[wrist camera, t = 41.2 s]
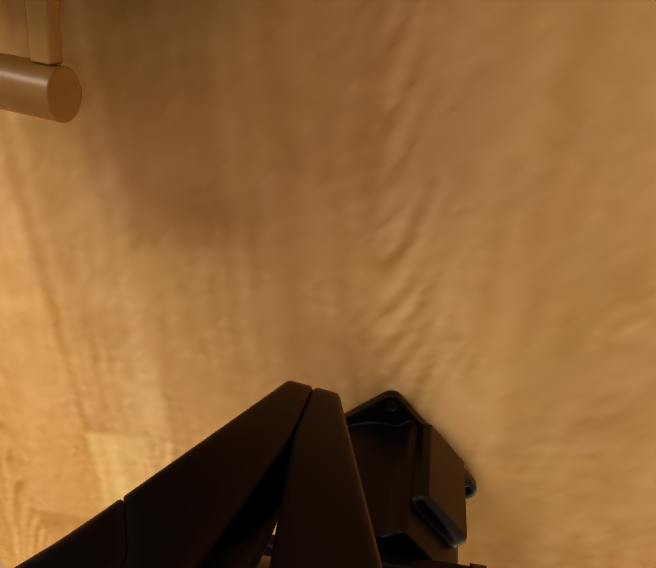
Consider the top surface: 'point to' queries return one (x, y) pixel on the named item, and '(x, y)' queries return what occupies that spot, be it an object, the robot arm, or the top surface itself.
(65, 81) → the drawer
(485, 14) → the top surface
